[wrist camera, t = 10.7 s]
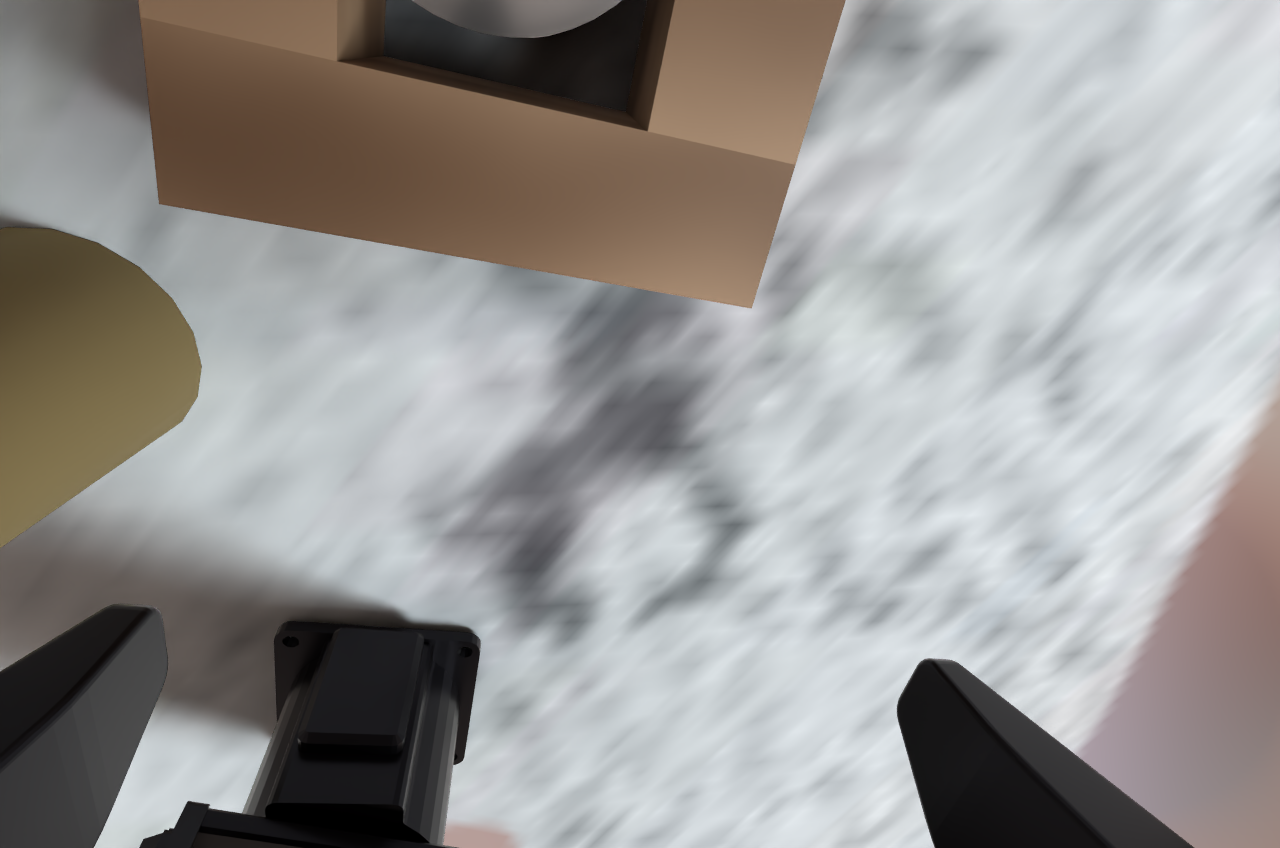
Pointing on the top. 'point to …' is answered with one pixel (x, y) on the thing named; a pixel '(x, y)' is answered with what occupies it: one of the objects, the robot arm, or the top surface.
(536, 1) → the grey metal peg
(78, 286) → the cork
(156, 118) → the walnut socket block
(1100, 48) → the top surface
